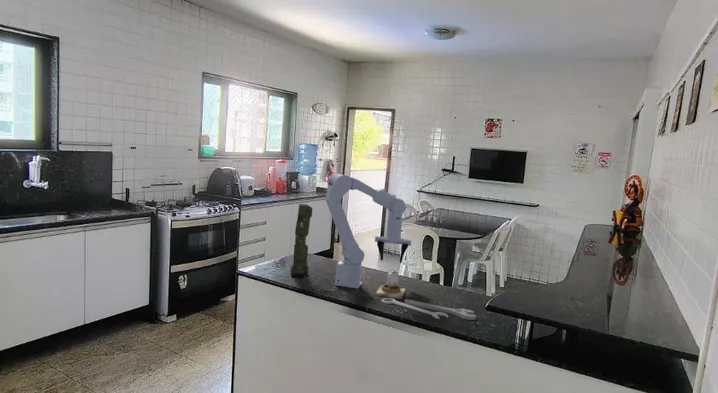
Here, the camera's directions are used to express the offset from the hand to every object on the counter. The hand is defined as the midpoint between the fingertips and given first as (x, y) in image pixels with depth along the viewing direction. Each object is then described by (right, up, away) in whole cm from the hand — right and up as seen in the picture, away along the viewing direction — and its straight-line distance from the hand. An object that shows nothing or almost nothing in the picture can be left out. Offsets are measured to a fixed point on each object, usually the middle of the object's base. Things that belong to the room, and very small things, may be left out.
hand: (391, 261), depth 185 cm
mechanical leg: (-38, -6, +5) cm, 38 cm away
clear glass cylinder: (-1, -10, -12) cm, 15 cm away
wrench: (+6, -13, -26) cm, 30 cm away
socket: (-1, -11, -11) cm, 15 cm away
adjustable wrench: (+15, -14, -25) cm, 33 cm away
